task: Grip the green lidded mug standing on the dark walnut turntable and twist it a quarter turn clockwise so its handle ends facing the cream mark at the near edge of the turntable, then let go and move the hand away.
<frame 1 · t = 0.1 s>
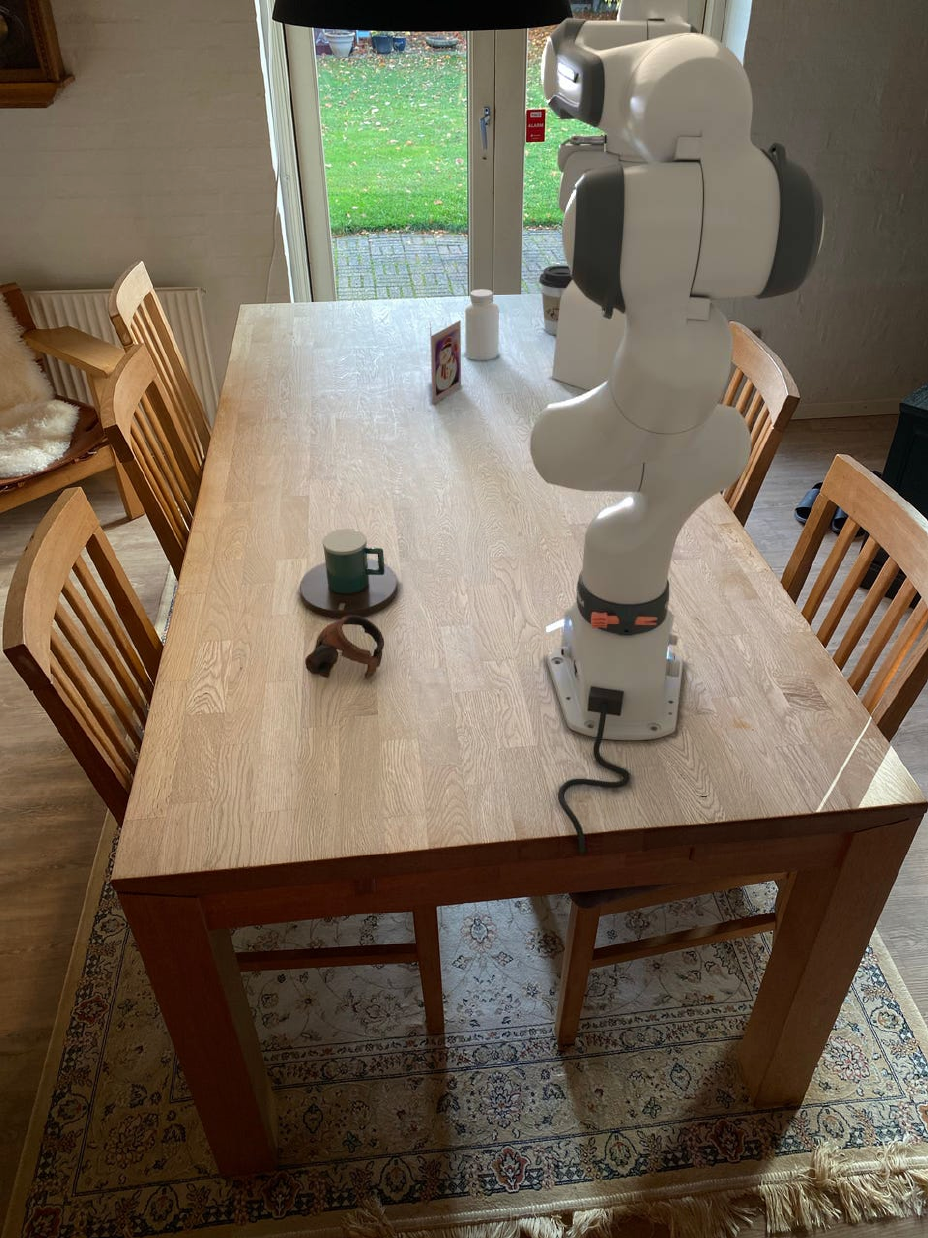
hand: (630, 248, 127), 48 cm above the table, tool pointing down, fingers open, 8 cm apart
milk: (588, 378, 214), on the table
pill bottle: (481, 355, 226), on the table
coffee cup: (559, 331, 240), on the table
brown strap loop: (342, 669, 131), on the table
greeting card: (436, 393, 208), on the table
green lidded mug: (354, 561, 143), point 5 cm above the table, hinge at 0.0°
turntable: (349, 590, 146), on the table
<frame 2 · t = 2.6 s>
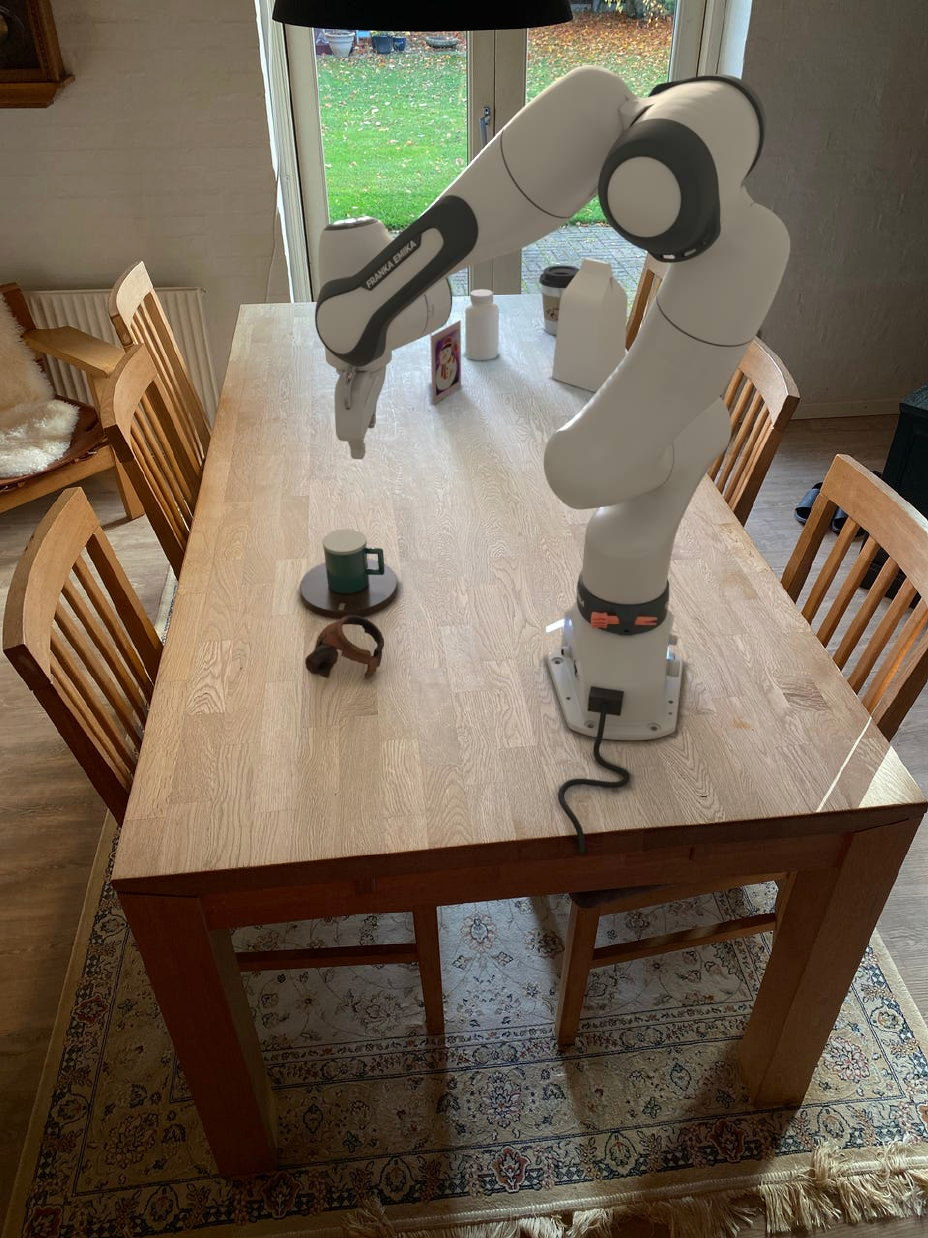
hand: (364, 441, 132), 25 cm above the table, tool pointing down, fingers open, 8 cm apart
nothing on the table moved.
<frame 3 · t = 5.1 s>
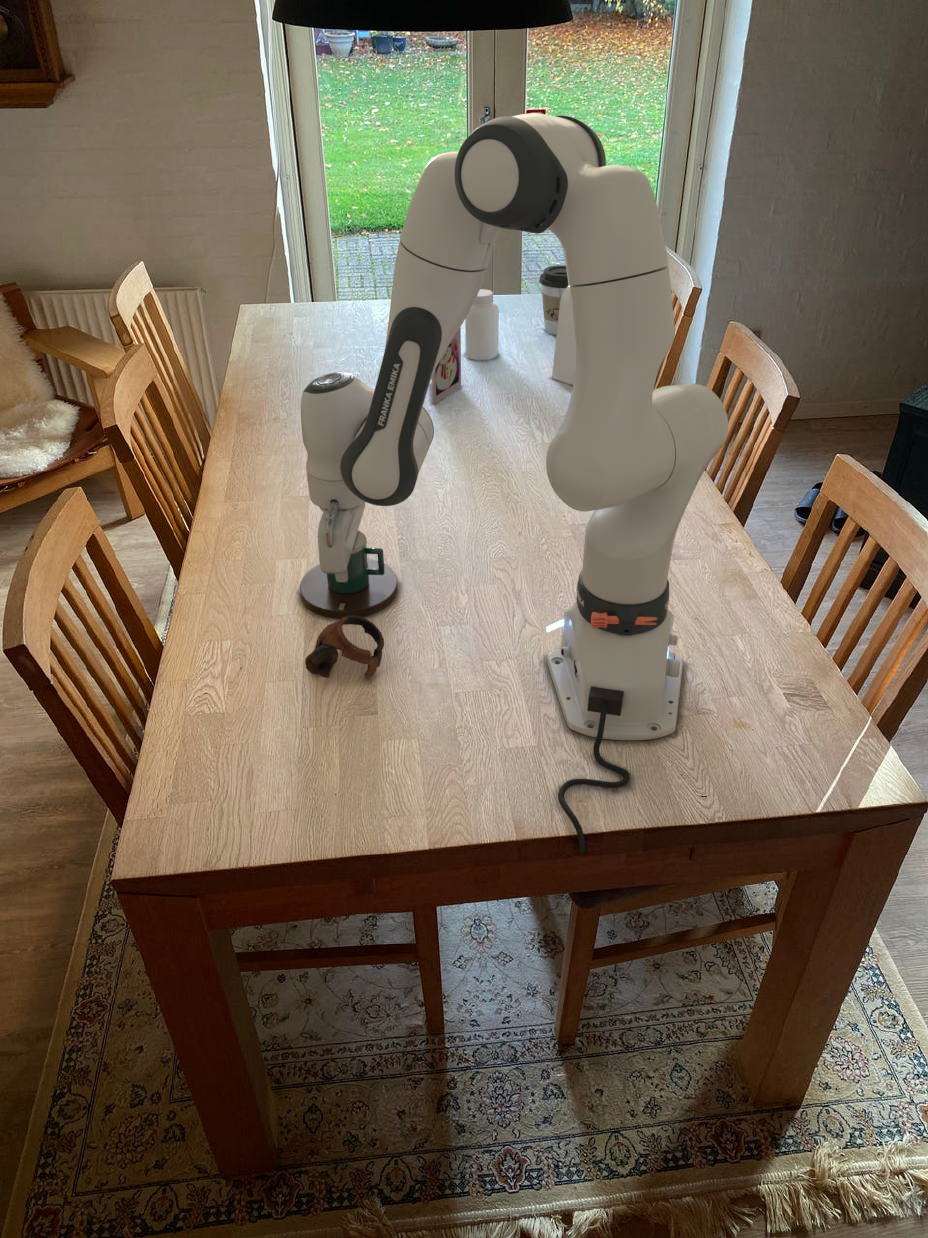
hand: (346, 565, 143), 5 cm above the table, tool pointing down, fingers closed on green lidded mug, 6 cm apart
green lidded mug: (354, 561, 143), point 5 cm above the table, hinge at -0.3°, touching gripper
everything else where it was.
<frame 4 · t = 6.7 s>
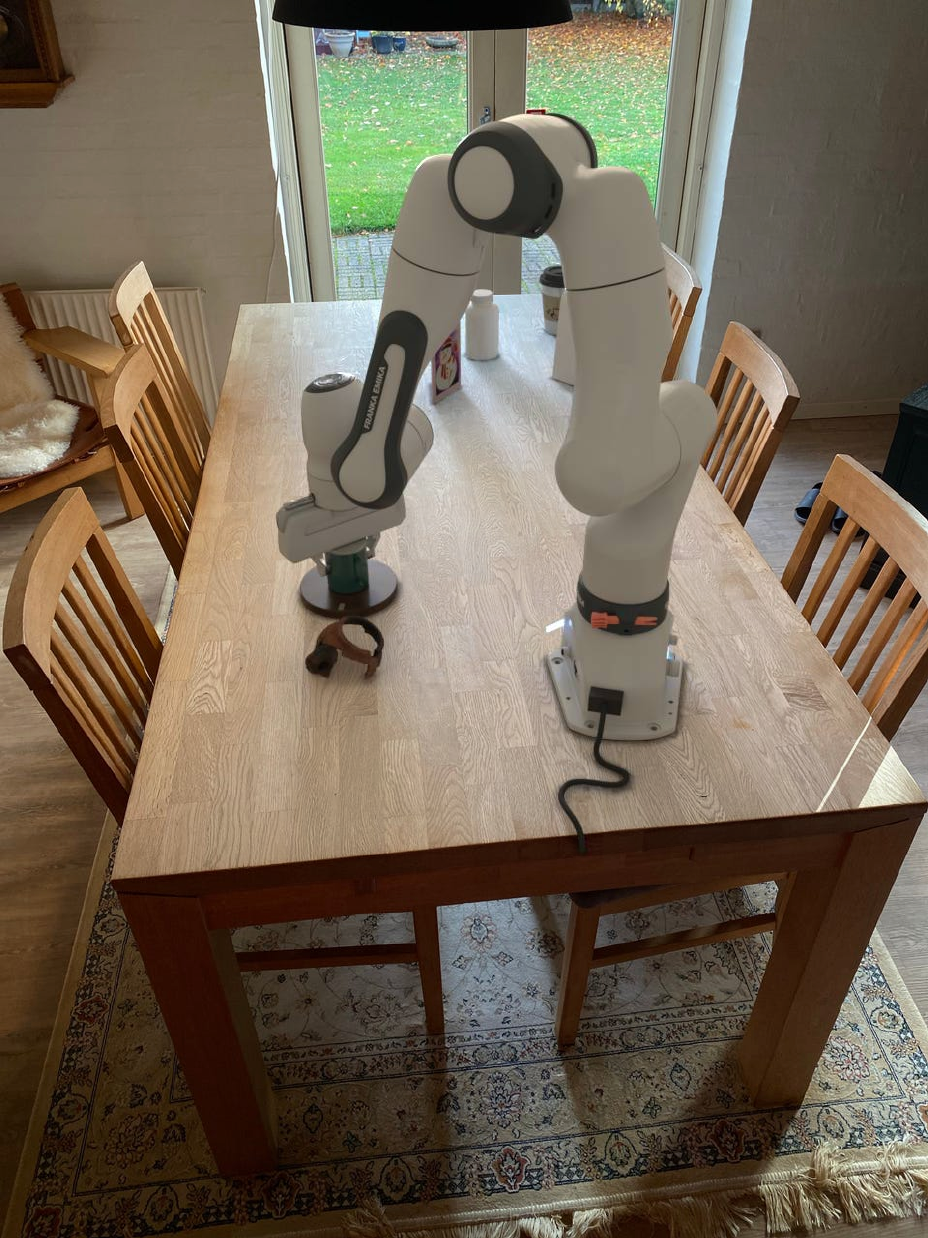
hand: (347, 565, 143), 5 cm above the table, tool pointing down, fingers closed on green lidded mug, 6 cm apart
green lidded mug: (350, 564, 142), point 5 cm above the table, hinge at -49.3°, touching gripper
everything else where it was.
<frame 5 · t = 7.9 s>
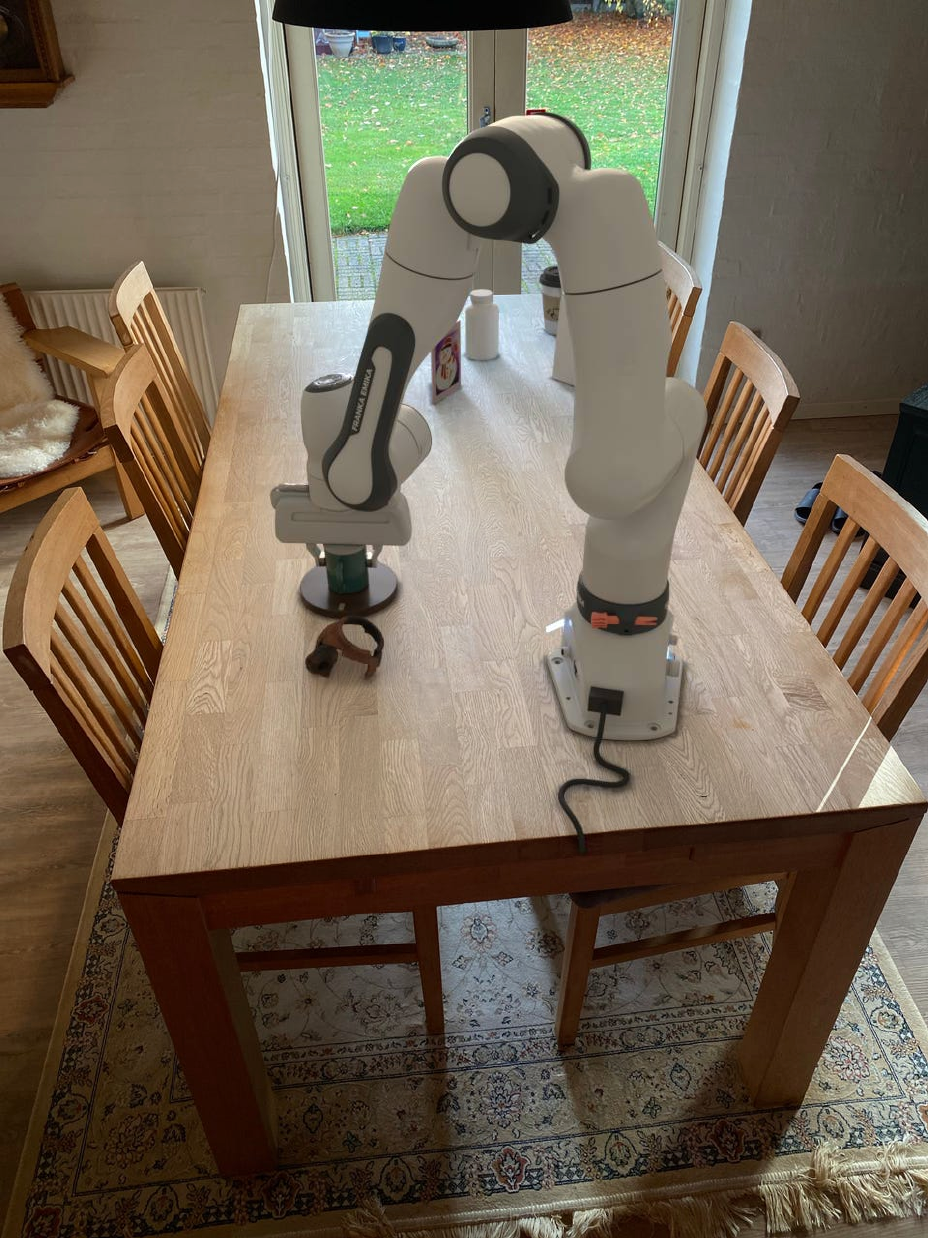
hand: (347, 565, 143), 5 cm above the table, tool pointing down, fingers closed on green lidded mug, 6 cm apart
green lidded mug: (345, 565, 142), point 5 cm above the table, hinge at -91.3°, touching gripper
everything else where it was.
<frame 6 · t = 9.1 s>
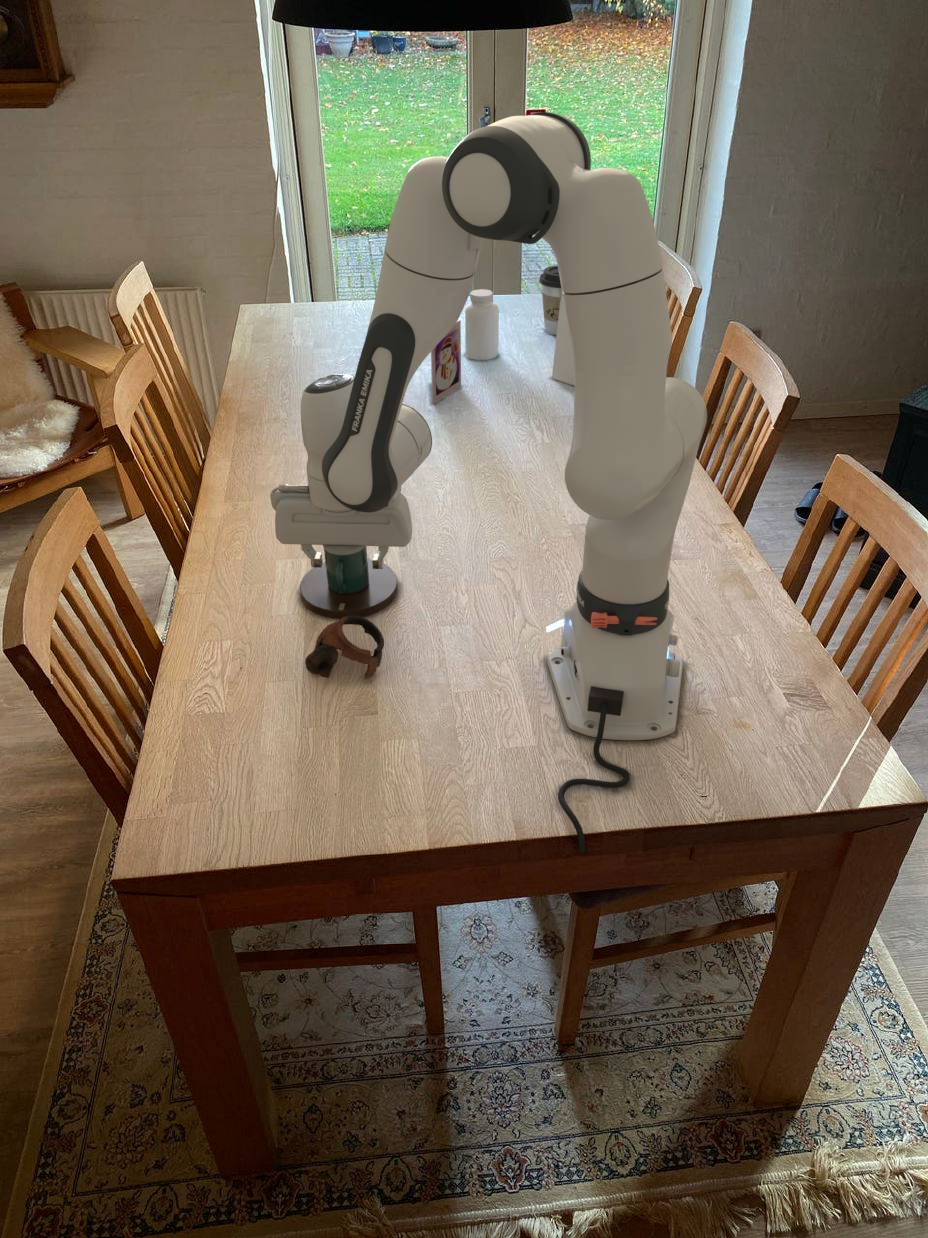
hand: (347, 566, 143), 5 cm above the table, tool pointing down, fingers open, 8 cm apart
green lidded mug: (345, 565, 142), point 5 cm above the table, hinge at -91.2°
everything else where it was.
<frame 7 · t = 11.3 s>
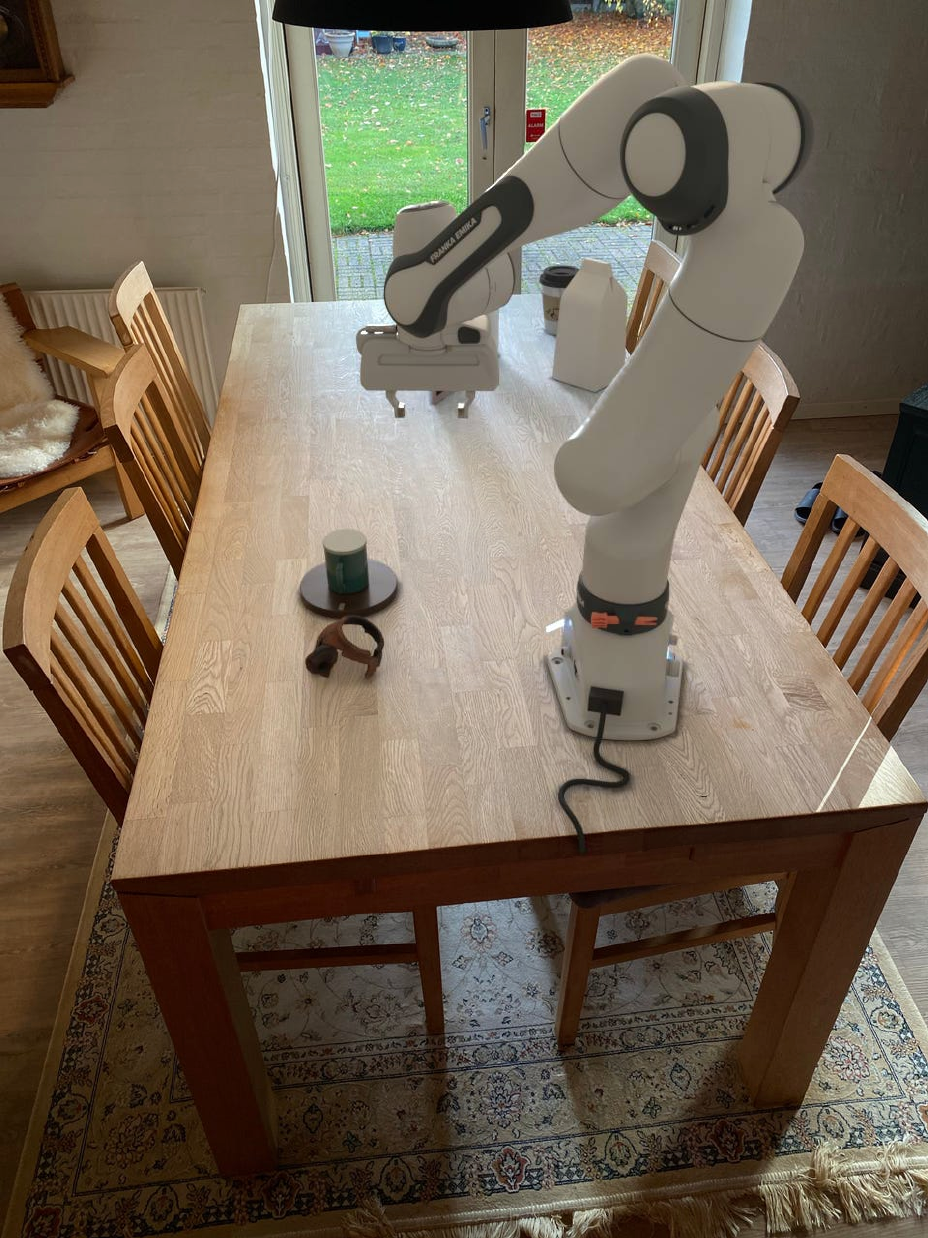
hand: (431, 416, 140), 24 cm above the table, tool pointing down, fingers open, 8 cm apart
nothing on the table moved.
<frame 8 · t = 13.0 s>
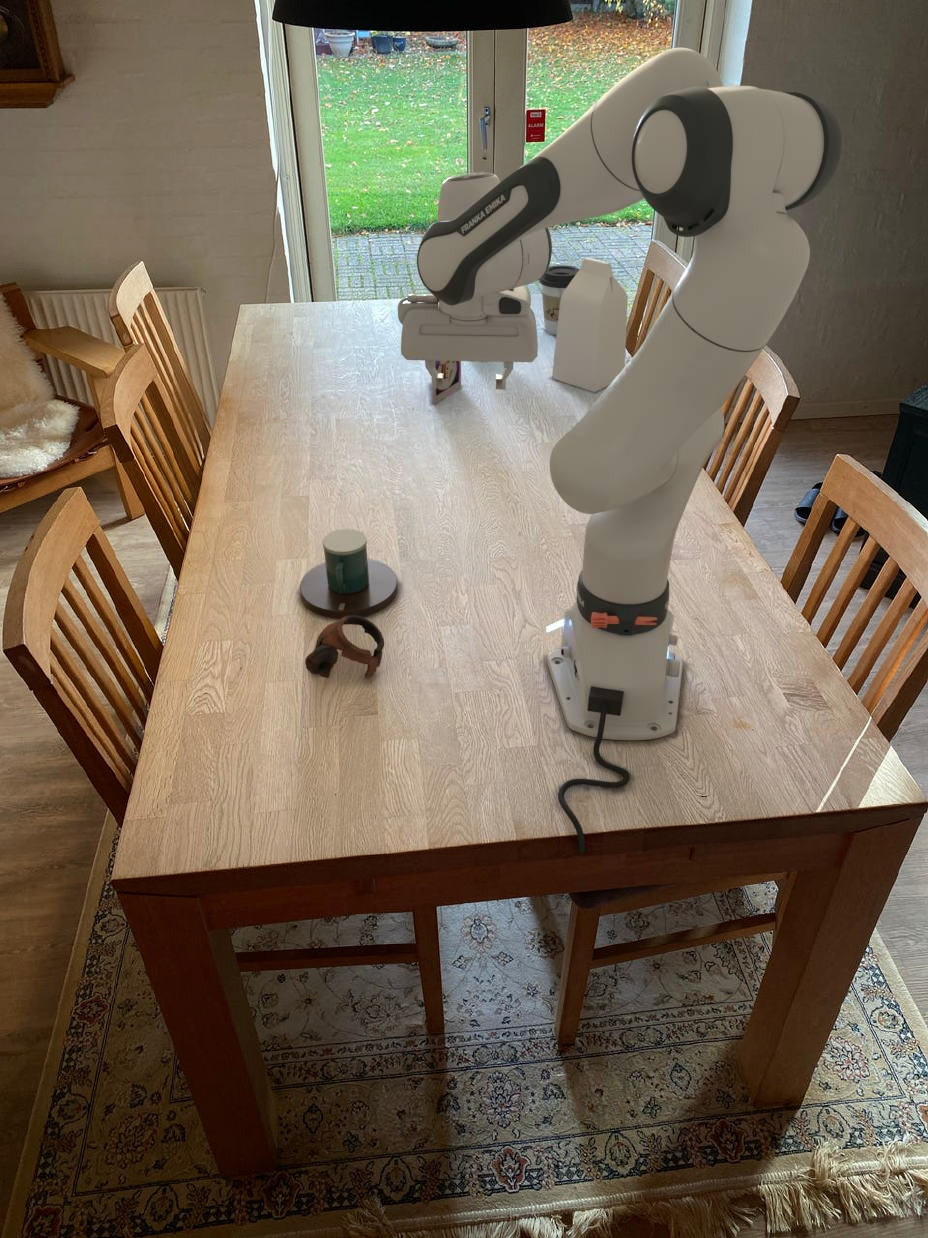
hand: (469, 387, 142), 27 cm above the table, tool pointing down, fingers open, 8 cm apart
nothing on the table moved.
at the end: green lidded mug at -91° (first picture: +0°); the gripper is holding nothing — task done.
